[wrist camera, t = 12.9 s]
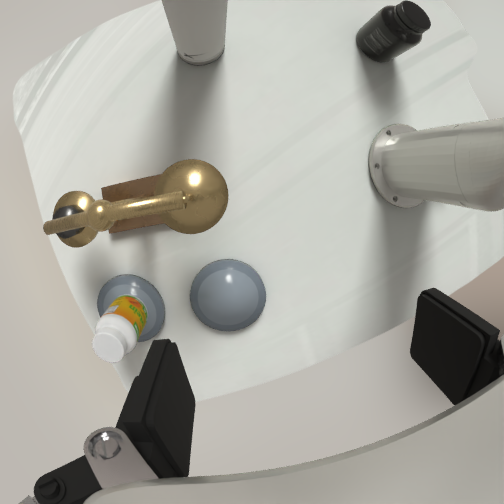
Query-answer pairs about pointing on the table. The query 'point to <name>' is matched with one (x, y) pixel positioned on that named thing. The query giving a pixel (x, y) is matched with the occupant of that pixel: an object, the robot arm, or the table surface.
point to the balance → (144, 204)
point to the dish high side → (228, 295)
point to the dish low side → (140, 290)
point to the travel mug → (197, 28)
